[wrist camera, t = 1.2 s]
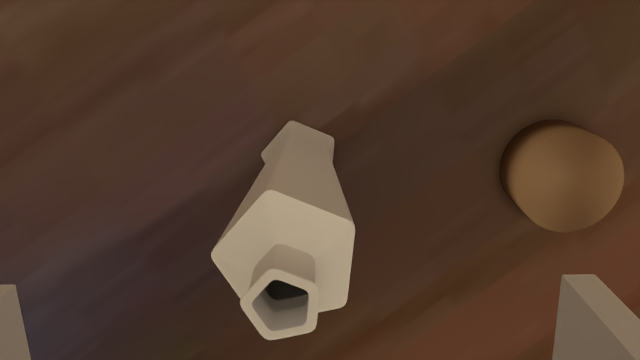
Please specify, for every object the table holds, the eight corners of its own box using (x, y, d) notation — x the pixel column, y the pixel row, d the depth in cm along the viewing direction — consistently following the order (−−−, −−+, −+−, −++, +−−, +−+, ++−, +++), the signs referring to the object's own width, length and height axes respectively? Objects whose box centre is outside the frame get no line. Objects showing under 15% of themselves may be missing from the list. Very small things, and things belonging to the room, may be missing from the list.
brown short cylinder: (495, 211, 30) (514, 233, 27) (502, 120, 29) (522, 133, 26) (588, 209, 30) (616, 230, 27) (600, 118, 29) (631, 130, 26)
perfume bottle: (333, 103, 28) (347, 205, 14) (350, 184, 30) (380, 352, 15) (245, 123, 29) (172, 243, 14) (267, 202, 30) (219, 384, 16)
